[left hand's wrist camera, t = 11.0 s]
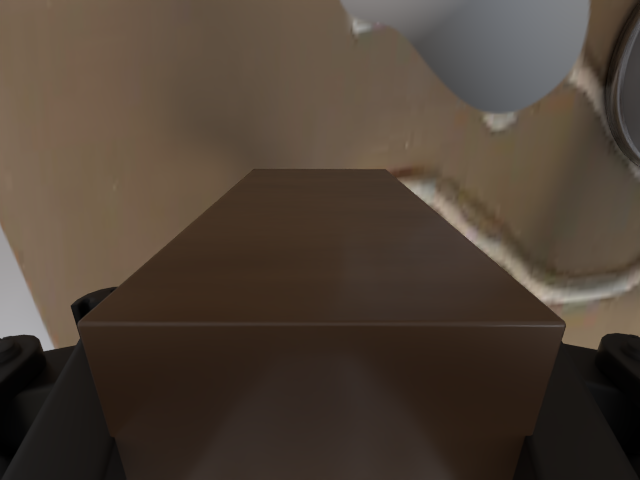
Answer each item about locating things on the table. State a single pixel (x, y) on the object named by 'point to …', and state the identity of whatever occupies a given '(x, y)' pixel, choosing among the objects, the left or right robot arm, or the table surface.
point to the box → (320, 342)
